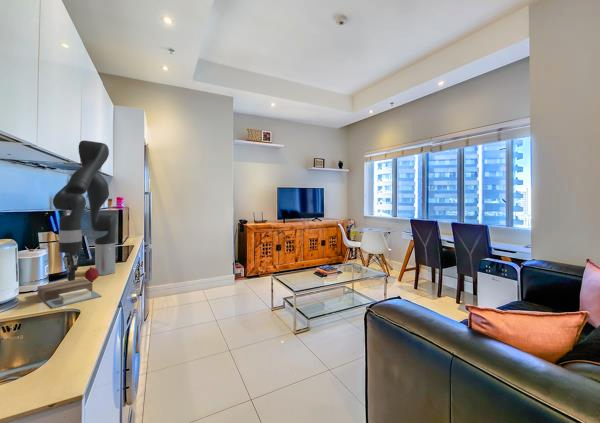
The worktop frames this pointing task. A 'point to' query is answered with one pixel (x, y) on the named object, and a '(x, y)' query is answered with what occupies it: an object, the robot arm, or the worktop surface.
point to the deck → (62, 288)
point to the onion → (91, 274)
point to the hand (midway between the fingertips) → (71, 280)
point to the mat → (57, 303)
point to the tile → (74, 296)
